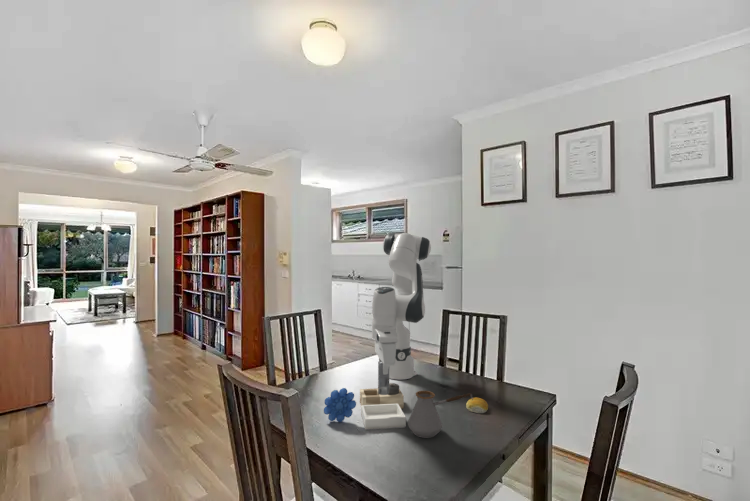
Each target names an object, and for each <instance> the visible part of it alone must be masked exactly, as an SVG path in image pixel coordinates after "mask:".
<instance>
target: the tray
mask: <svg viewBox="0 0 750 501" xmlns="http://www.w3.org/2000/svg"><path fill="white" fill-rule="evenodd" d="M360 416H361V420H362V424H363V427H364V431H368V430H385V429H386V430H387V429H388V430H389V429H399V428H406V426H407V424H406V421H407V420H406V415H405V413H404V411H403V410H402V409H401V408H400V406H399V404H378V405H361V404H360Z"/></svg>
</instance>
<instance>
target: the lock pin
mask: <svg viewBox="0 0 750 501" xmlns="http://www.w3.org/2000/svg"><path fill="white" fill-rule="evenodd" d="M377 362H378V364H377V366H378V367H377V386H378V387H377V388H378V394H380V395H388V394H389V383H390V378H389V368H388V374H385V375H384V374H383V372H382V368H383V363H382V361H379V360H378V361H377Z"/></svg>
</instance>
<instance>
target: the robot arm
mask: <svg viewBox="0 0 750 501" xmlns="http://www.w3.org/2000/svg"><path fill="white" fill-rule="evenodd" d="M384 237H385V238H384V239H383V242H382V249H383V252H384V253H385V254H386V255H388V256H389V257H388V265H389V267H390V269H391V271H392V277H391V284H392V286H393V287H394V288H393V287H390V286H381V287H377V288H376V289H375V290H374V291H373V296H372V303H371V305H372V306H371V313H372V317H373V318H372V322H371V338H372V339H373V340H374V351H375V352H374V353H375V354H376V355H377V357H378V362H379V361H382V363H383V368H382V372H383V374H384V375H385V374H388V368H389V380H391V379H392V380H407V379H408V380H409V379H411V378H413V377H414V376H417V375H418V372H417V371H415V360H414V359H415V358H414V357H413V356H412V347H411V332H410V331H411V330H410V329H409V328H408V327H406V326H405V325H404V322H408V323H414V324H417V323H419V322H420V321H422V319H424V317H425V314H426V305H425V304H426V303H425V301H424V284H423V283H424V282H423V281H424V280H423V273H422V272H423V271H422V267H421V265H420V264H419V262H420V261H423V260H426V259H427V258H428V257H429V255H430V254H431V251H432V250H431V249H432V245H431V241H430V240H429V239H428V238H426V237H424V236H417V235H413V234H411V233H409V232H403V233H393V232H392V233H388V234H387V235H385V236H384ZM417 260H418V261H419V262H418V261H417ZM395 289H397V293H396V290H395Z"/></svg>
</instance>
